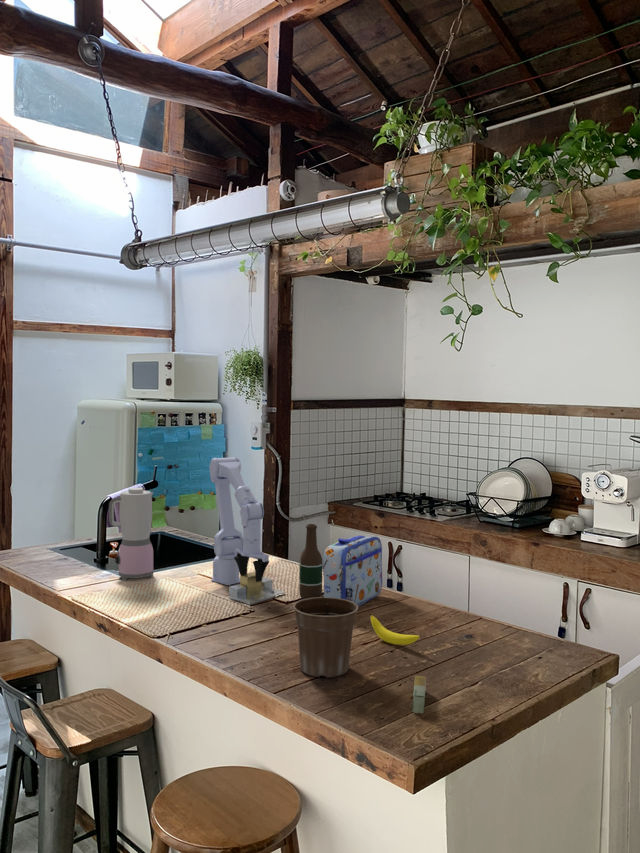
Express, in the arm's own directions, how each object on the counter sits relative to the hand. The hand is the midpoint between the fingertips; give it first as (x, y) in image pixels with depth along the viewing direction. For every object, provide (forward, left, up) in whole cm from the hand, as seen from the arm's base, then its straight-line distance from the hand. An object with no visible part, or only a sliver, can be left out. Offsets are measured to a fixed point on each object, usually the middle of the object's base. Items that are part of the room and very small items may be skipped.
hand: (251, 578), depth 249 cm
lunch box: (+30, +17, -6) cm, 35 cm away
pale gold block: (-3, 0, -4) cm, 5 cm away
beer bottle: (+15, +13, -5) cm, 21 cm away
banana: (+62, -4, -6) cm, 62 cm away
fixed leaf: (+3, 0, -5) cm, 6 cm away
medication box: (+88, -29, -6) cm, 93 cm away
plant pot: (+60, -30, -6) cm, 67 cm away
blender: (-46, -16, -5) cm, 49 cm away
